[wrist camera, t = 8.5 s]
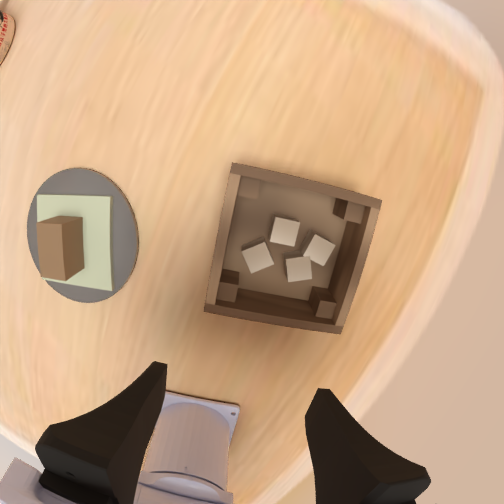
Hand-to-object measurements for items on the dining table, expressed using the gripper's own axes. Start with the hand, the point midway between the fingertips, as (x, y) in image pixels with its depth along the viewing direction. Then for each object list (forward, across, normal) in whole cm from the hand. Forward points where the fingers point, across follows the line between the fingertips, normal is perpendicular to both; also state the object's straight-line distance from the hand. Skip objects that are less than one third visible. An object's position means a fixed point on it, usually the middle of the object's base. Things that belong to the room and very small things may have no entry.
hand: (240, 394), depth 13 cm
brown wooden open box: (+10, -2, -5) cm, 12 cm away
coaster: (+10, +14, -2) cm, 18 cm away
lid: (+10, +14, -2) cm, 17 cm away
